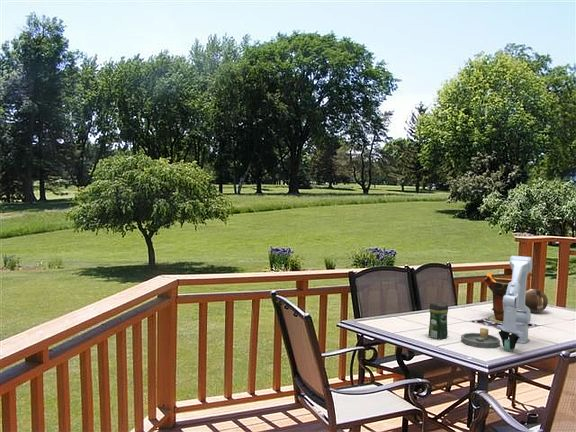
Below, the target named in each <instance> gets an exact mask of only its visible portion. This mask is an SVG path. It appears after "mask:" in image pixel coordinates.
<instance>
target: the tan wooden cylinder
mask: <svg viewBox="0 0 576 432" xmlns="http://www.w3.org/2000/svg"><path fill="white" fill-rule="evenodd" d="M479 333H480V337H483V338H485V340H488V335H489V328H486V327H481V328H479Z"/></svg>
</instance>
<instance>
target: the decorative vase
mask: <svg viewBox="0 0 576 432" xmlns="http://www.w3.org/2000/svg"><path fill="white" fill-rule="evenodd" d="M511 281H512V278H501V277H495V276H494V272H491V271H490V272H488V273H486V278H484V279H483V285H485V286H487V288H488V289H489V290H490V291H491V292H492V308H491V311H493V314H494V315H491V316H487V317H486V320H489V321H491V322H494V323H501V324H503V321H504V310H503V296H504V295H506V291H507V287H508V283H509V282H511Z"/></svg>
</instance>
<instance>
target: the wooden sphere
mask: <svg viewBox="0 0 576 432" xmlns="http://www.w3.org/2000/svg"><path fill="white" fill-rule="evenodd" d="M548 301H549V300H548V297H547V295H546V293H544V291H542V290H540V289H537V288H531V289H528V290H526V297H525V305H526V306H527V307H528V308H529V309H530V311H531V312H530V313H533V314H534V313H535V314H537V313H541V312H543V311H545V310H546V308H547V307H548V303H549V302H548Z"/></svg>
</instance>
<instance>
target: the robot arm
mask: <svg viewBox="0 0 576 432" xmlns="http://www.w3.org/2000/svg"><path fill="white" fill-rule="evenodd" d="M509 267H510V268H511V270H512V272H511V273H512V274H511V279H512V281H511V282H509V283H508V287H507V291H506V295H504V296H503V310H504V321H503V323H502V325H501V324H497V325H496V330H499V331H498V334H499V336H500V339H501V342H502V346H503V347H504V341H505V339H509V340H510V349H513V350H515V348H516V345H517V344H518V343H519V344H520V343H521V344H526V343H527V342H528V341H530V338H528V337H529V326H528V325H529V324H530V323H531V321H532V319H531V318H532V317H531V316H532V315H531V313H532V312H531V311H530V309H529V308H528V307H527V306H526V305H525V297H526V291H527V280H528V275H529V274H530V273H532V271H533V258H532V256H520V255H511V256H510V258H509Z"/></svg>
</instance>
